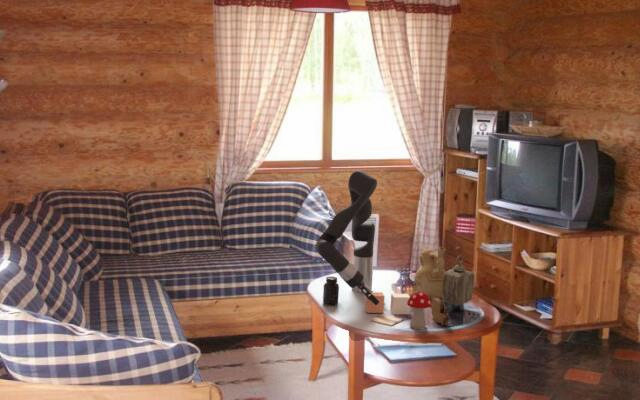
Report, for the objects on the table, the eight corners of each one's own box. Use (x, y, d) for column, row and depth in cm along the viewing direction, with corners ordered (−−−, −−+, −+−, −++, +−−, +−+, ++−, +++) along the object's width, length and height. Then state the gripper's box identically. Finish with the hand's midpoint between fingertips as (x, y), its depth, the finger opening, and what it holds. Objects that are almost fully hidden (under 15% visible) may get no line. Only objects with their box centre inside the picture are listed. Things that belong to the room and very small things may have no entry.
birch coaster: (381, 315, 318) (382, 313, 318) (402, 320, 312) (402, 318, 312) (370, 320, 310) (370, 319, 309) (391, 326, 304) (391, 324, 304)
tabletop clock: (454, 304, 338) (458, 250, 334) (473, 308, 333) (477, 254, 329) (440, 311, 327) (444, 256, 323) (459, 315, 321) (463, 259, 317)
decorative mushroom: (407, 330, 300) (409, 294, 297) (404, 323, 308) (406, 288, 306) (431, 330, 300) (434, 295, 298) (427, 324, 309) (430, 289, 306)
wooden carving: (452, 328, 305) (454, 304, 303) (442, 328, 304) (444, 305, 302) (435, 315, 320) (437, 293, 319) (425, 316, 319) (427, 293, 318)
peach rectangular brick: (366, 312, 319) (367, 295, 318) (364, 308, 324) (365, 292, 323) (383, 312, 320) (384, 296, 319) (381, 308, 325) (382, 292, 324)
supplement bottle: (336, 306, 327) (337, 280, 325) (321, 305, 329) (322, 278, 327) (339, 302, 334) (340, 276, 332) (324, 300, 335) (325, 275, 333)
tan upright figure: (436, 288, 363) (440, 238, 359) (456, 300, 344) (460, 248, 340) (405, 290, 357) (408, 239, 353) (423, 302, 339) (426, 249, 335)
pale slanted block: (392, 314, 320) (393, 297, 319) (390, 310, 325) (391, 293, 324) (409, 314, 321) (410, 297, 320) (406, 310, 326) (407, 293, 325)
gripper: (341, 275, 325) (367, 302, 329) (346, 285, 311) (372, 312, 315) (354, 264, 325) (379, 291, 328) (359, 272, 311) (385, 300, 314)
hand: (376, 301), depth 321 cm, fingers closed on peach rectangular brick, 5 cm apart
